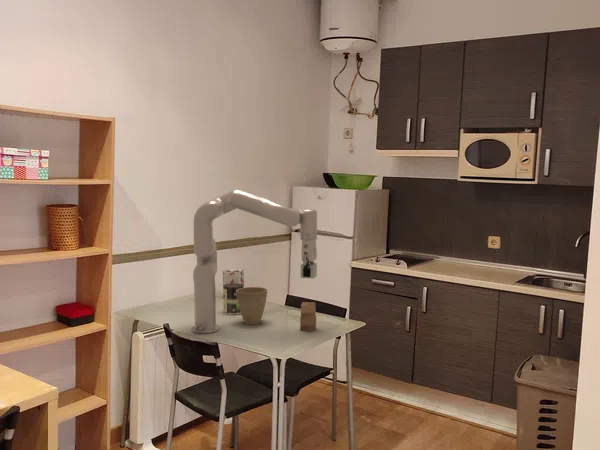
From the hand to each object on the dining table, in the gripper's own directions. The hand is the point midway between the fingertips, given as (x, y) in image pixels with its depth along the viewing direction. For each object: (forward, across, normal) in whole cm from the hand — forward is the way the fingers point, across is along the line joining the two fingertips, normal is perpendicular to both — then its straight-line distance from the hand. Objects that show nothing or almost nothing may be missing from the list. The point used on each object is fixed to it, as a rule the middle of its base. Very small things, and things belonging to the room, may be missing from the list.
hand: (308, 275), depth 271 cm
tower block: (+19, 0, 0) cm, 19 cm away
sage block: (+1, 0, 0) cm, 1 cm away
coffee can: (+25, +20, +45) cm, 56 cm away
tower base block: (+25, 0, 0) cm, 25 cm away
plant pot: (+25, +4, +29) cm, 39 cm away
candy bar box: (+25, +50, +57) cm, 80 cm away
